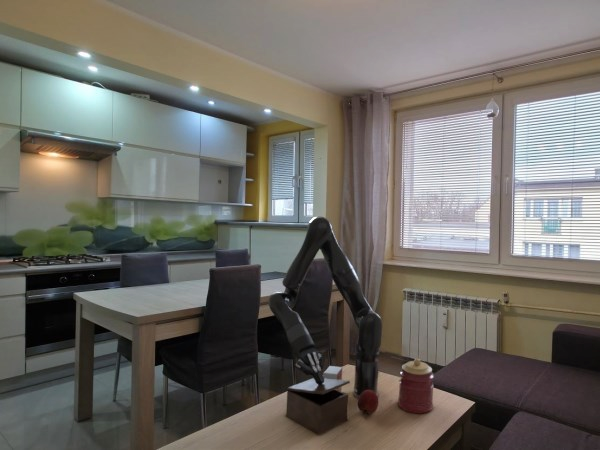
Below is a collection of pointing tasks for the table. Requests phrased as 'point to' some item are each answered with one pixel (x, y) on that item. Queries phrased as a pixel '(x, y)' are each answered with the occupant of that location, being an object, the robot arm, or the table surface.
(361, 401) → the apple
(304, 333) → the robot arm
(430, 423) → the table surface
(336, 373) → the small box
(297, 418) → the chest
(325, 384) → the lid
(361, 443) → the table surface
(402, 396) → the kitchen canister
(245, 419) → the table surface
